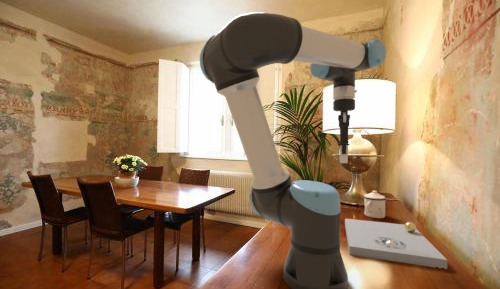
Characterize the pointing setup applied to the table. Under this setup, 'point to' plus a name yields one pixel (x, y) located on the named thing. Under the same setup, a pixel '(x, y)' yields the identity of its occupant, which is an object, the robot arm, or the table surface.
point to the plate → (407, 250)
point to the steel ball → (390, 243)
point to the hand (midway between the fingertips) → (343, 162)
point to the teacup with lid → (374, 205)
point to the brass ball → (410, 227)
